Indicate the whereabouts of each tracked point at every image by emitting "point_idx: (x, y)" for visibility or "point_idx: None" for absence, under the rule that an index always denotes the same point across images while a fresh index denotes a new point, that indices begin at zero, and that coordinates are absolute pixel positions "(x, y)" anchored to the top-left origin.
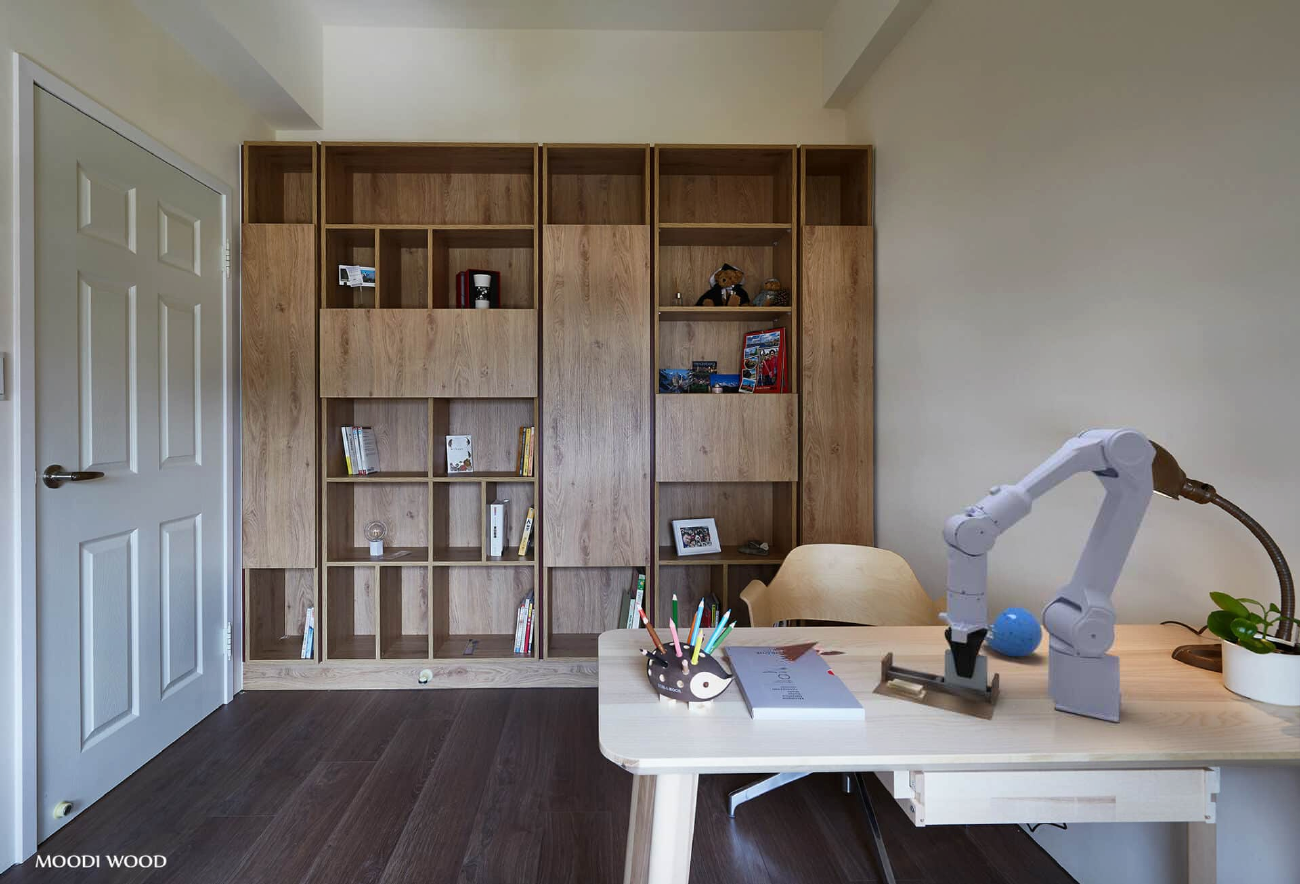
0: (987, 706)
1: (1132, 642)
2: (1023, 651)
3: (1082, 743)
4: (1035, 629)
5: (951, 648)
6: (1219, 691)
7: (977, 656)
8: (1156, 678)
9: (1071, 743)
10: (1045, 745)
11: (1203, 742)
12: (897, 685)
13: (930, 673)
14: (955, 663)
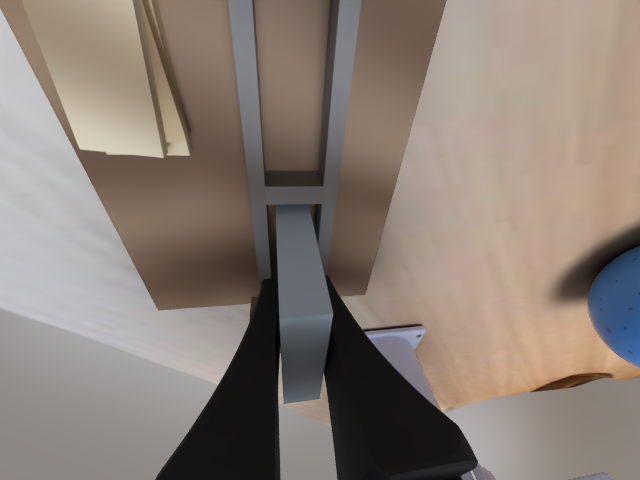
0: (240, 293)
1: None
2: (588, 303)
3: (224, 373)
4: (635, 365)
5: (212, 395)
6: (470, 401)
7: (295, 388)
8: (501, 377)
9: (211, 367)
10: (167, 354)
11: (321, 412)
12: (31, 16)
13: (341, 157)
14: (251, 318)
